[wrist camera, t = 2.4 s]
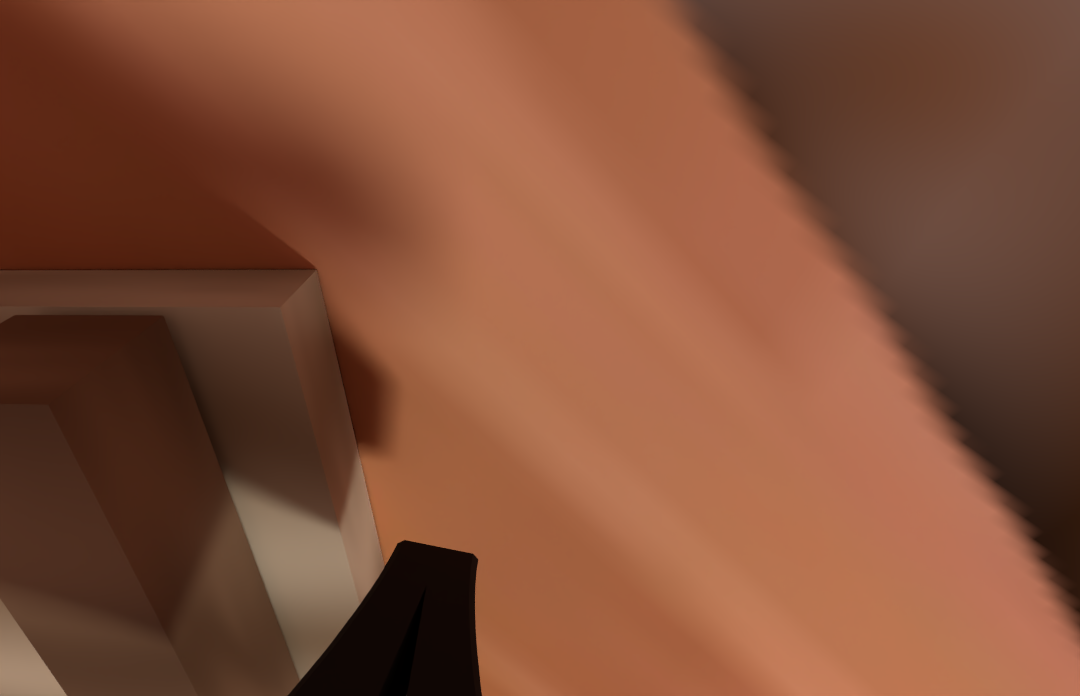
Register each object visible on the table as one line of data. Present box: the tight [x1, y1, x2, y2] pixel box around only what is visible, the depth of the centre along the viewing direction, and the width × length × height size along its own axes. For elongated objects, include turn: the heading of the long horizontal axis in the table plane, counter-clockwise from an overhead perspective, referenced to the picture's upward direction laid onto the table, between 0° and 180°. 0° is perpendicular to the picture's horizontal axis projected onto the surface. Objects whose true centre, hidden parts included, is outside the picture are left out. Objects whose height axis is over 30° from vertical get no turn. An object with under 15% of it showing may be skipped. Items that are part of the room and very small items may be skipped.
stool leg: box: [0, 315, 300, 696], centre depth 12 cm, size 13×2×2 cm, turn 2°
